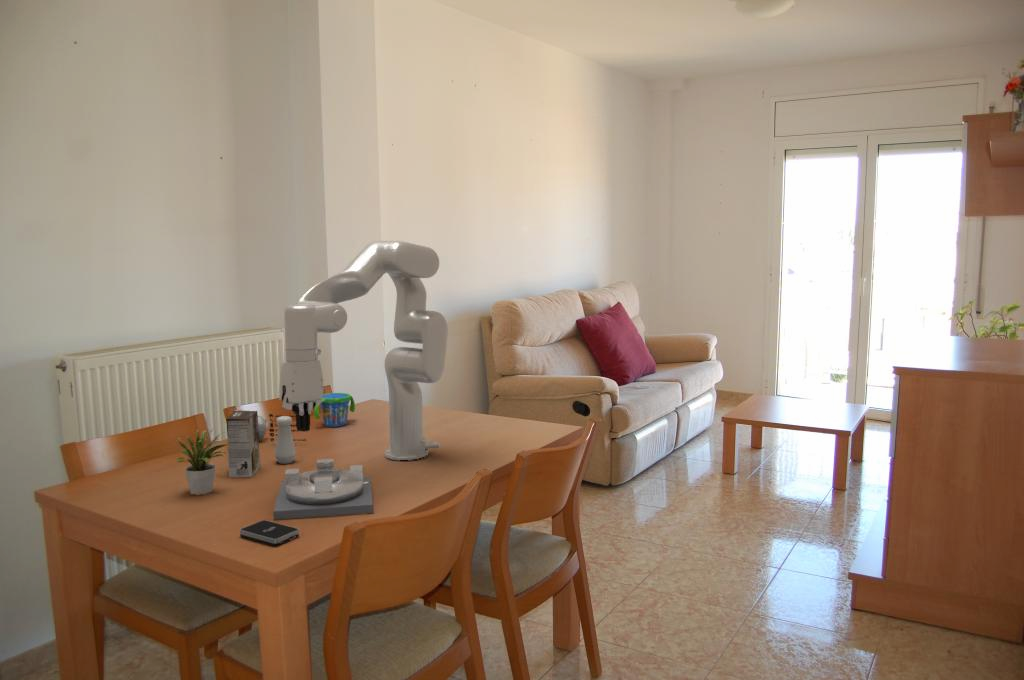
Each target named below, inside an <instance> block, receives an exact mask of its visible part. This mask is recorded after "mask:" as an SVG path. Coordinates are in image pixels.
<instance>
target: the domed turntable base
mask: <svg viewBox="0 0 1024 680" xmlns="http://www.w3.org/2000/svg"><path fill="white" fill-rule="evenodd" d="M334 461H335V459H334V458H321V459H316V469H313V470H308V471H303V472H300V468H286V469H285V472H284V482H285V485H286V496H287V498H288V499H289V500H291V501H293V502H296V503H301V504H312V505H320V504H332V503H338V502H343V501H347V500H350V499H353V498H355V497H357V496H359V495H360V494H361V493H362V492H363V477H364V474H363V473H364V472H363V464H357V465H356V464H355V465H354V464H353V465H349V469H345V468H344V469H341V468H335V462H334Z"/></svg>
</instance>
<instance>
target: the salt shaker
mask: <svg viewBox="0 0 1024 680" xmlns="http://www.w3.org/2000/svg"><path fill="white" fill-rule="evenodd" d="M292 418H293V417H289V415H288V416H287V415H285V416H284V415H282V416H281V415H280V416H278V417H276V419H275V420H276V423H275V425H276V424H277V425H276V427H277V428H278V429H277V433H276V434H277V436H276V439H277V441H276V444H275V450H274V457H275V459H276V460H277V462H278V463H279V465H288V464H292V463H293V462H294V460H295V457H296V455H297V454H296V453H297V452H296V447H295V443H294V441H293V439H294V438H293V431H292V429H291V428H292V427H291V425H292V426H293V419H292ZM291 431H292V432H291Z"/></svg>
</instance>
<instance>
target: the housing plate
mask: <svg viewBox="0 0 1024 680" xmlns="http://www.w3.org/2000/svg"><path fill="white" fill-rule="evenodd" d="M372 491H373V490H372V481H371V476H370V475H369V476H363V492H362V493H361V494H360V495H359V496H357V497H355V498H353V499H350V500H347V501H343V502H338V503H332V504H320V505H312V504H301V503H296V502H293V501H291V500H289V499H288V498H287V496H286V485H285V481H281V483H280V486H279V490H278V494H277V498H276V500H275V505H274V508H273V521H280V520H291V519H292V520H293V519H306V518H307V519H308V518H321V517H323V518H324V517H335V516H349V515H348V514H354V515H362V514H361V513H368V514H374V503H373V492H372Z"/></svg>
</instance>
